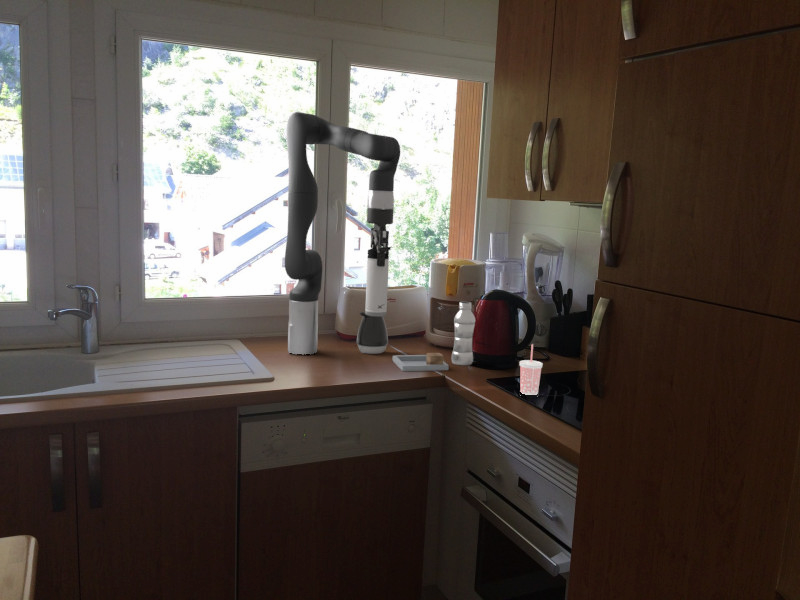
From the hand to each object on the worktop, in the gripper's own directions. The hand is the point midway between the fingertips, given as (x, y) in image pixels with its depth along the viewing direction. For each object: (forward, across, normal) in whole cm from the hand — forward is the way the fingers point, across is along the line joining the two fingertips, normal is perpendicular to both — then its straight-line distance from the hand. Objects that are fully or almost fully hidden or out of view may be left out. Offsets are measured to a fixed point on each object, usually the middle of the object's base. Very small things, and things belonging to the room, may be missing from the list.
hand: (378, 264), depth 195 cm
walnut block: (+30, +3, +18) cm, 35 cm away
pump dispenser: (+32, -20, +3) cm, 38 cm away
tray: (+31, 0, +14) cm, 34 cm away
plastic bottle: (+31, -2, +28) cm, 42 cm away
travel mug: (+15, 0, 0) cm, 15 cm away
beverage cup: (+31, +30, +36) cm, 56 cm away
